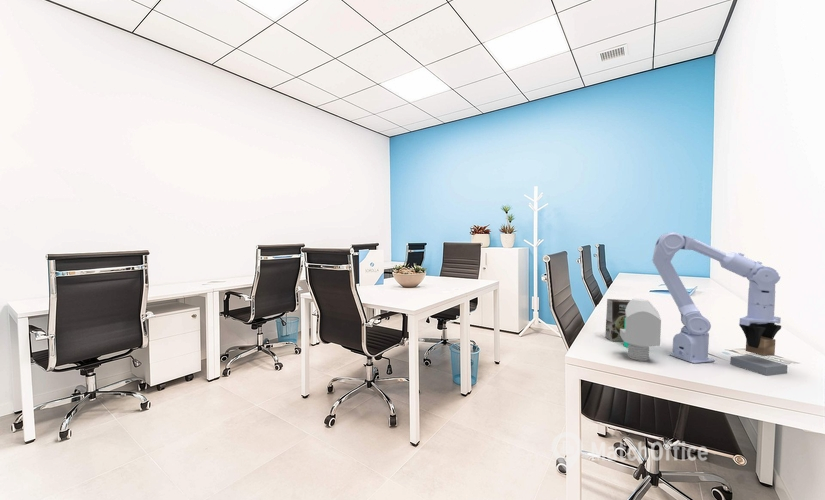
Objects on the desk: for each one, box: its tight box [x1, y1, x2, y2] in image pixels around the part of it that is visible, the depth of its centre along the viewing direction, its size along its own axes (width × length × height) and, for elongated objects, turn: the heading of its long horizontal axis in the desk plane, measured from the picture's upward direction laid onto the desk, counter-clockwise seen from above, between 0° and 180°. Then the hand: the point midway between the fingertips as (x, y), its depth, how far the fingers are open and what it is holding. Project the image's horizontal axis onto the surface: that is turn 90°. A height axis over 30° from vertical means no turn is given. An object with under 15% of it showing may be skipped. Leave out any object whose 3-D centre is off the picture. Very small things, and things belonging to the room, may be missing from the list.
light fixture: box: [620, 298, 662, 362], centre depth 109 cm, size 9×9×20 cm
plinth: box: [729, 354, 788, 376], centre depth 101 cm, size 9×9×2 cm
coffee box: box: [604, 298, 632, 343], centre depth 129 cm, size 9×6×16 cm
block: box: [745, 336, 776, 357], centre depth 101 cm, size 4×4×5 cm
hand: (758, 346), depth 101 cm, fingers closed on block, 5 cm apart
